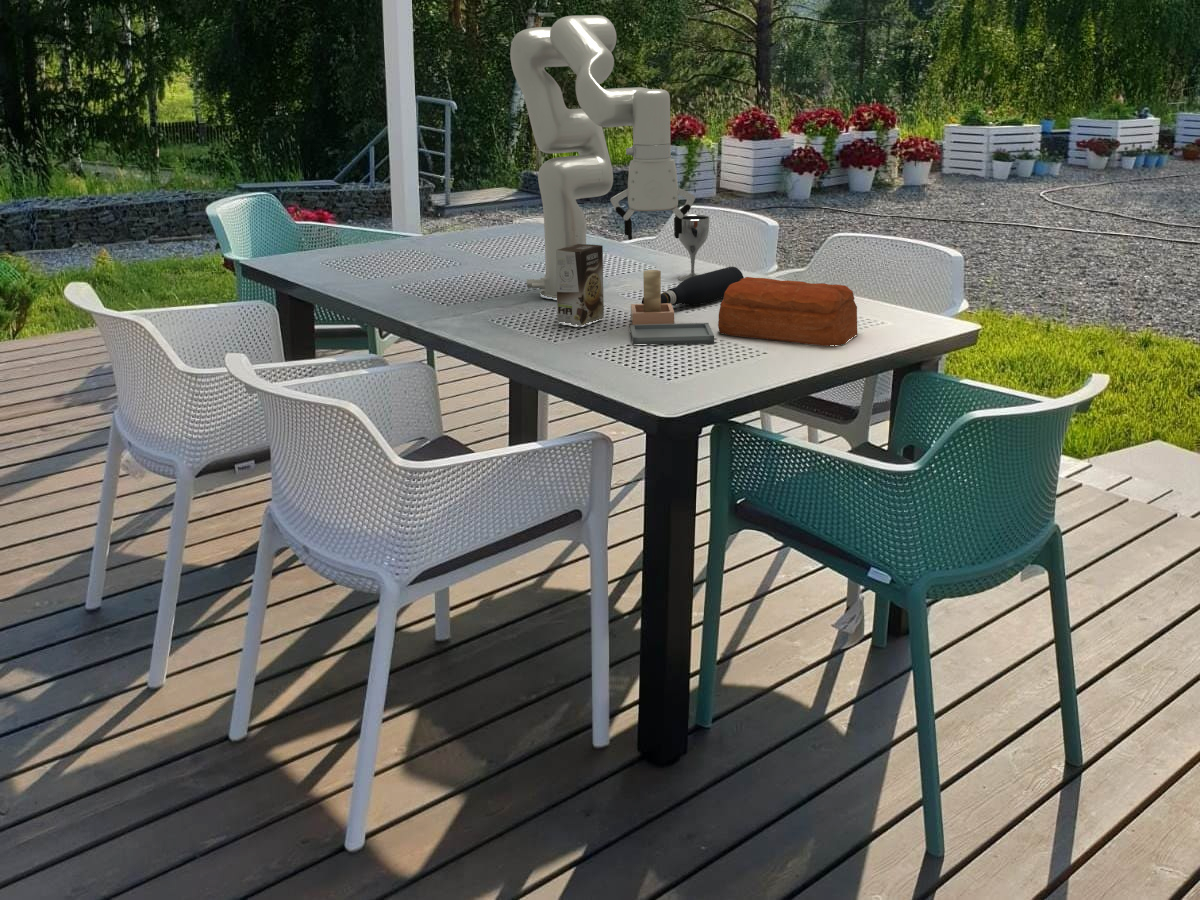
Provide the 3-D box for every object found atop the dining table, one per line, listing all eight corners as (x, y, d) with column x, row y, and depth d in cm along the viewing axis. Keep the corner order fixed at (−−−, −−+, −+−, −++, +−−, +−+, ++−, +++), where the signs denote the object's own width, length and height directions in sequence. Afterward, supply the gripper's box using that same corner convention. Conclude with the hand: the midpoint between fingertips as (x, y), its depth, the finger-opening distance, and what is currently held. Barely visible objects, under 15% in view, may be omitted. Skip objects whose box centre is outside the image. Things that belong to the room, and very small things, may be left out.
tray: (633, 345, 243) (633, 337, 243) (630, 332, 253) (630, 324, 253) (714, 343, 243) (714, 335, 243) (708, 330, 254) (708, 322, 253)
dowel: (644, 325, 259) (643, 273, 255) (643, 321, 262) (642, 270, 259) (661, 325, 259) (661, 273, 255) (660, 321, 262) (660, 269, 259)
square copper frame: (633, 328, 256) (632, 313, 255) (630, 318, 265) (630, 304, 264) (674, 327, 257) (674, 312, 256) (670, 318, 265) (671, 303, 264)
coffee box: (582, 329, 257) (580, 251, 252) (556, 325, 260) (554, 249, 255) (605, 320, 264) (604, 244, 259) (580, 316, 268) (578, 242, 262)
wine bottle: (749, 284, 283) (664, 309, 262) (731, 299, 287) (646, 323, 267) (735, 261, 284) (649, 283, 263) (717, 275, 288) (632, 298, 268)
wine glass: (672, 280, 302) (672, 219, 297) (682, 274, 309) (682, 214, 304) (703, 282, 299) (703, 220, 294) (712, 276, 306) (713, 215, 301)
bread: (837, 350, 238) (840, 296, 234) (710, 336, 250) (711, 284, 247) (863, 332, 250) (866, 281, 247) (741, 320, 263) (742, 270, 259)
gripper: (609, 156, 245) (612, 242, 251) (696, 153, 245) (697, 239, 251) (608, 152, 252) (610, 236, 258) (692, 150, 253) (693, 234, 258)
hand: (653, 238), depth 254 cm, fingers open, 9 cm apart
